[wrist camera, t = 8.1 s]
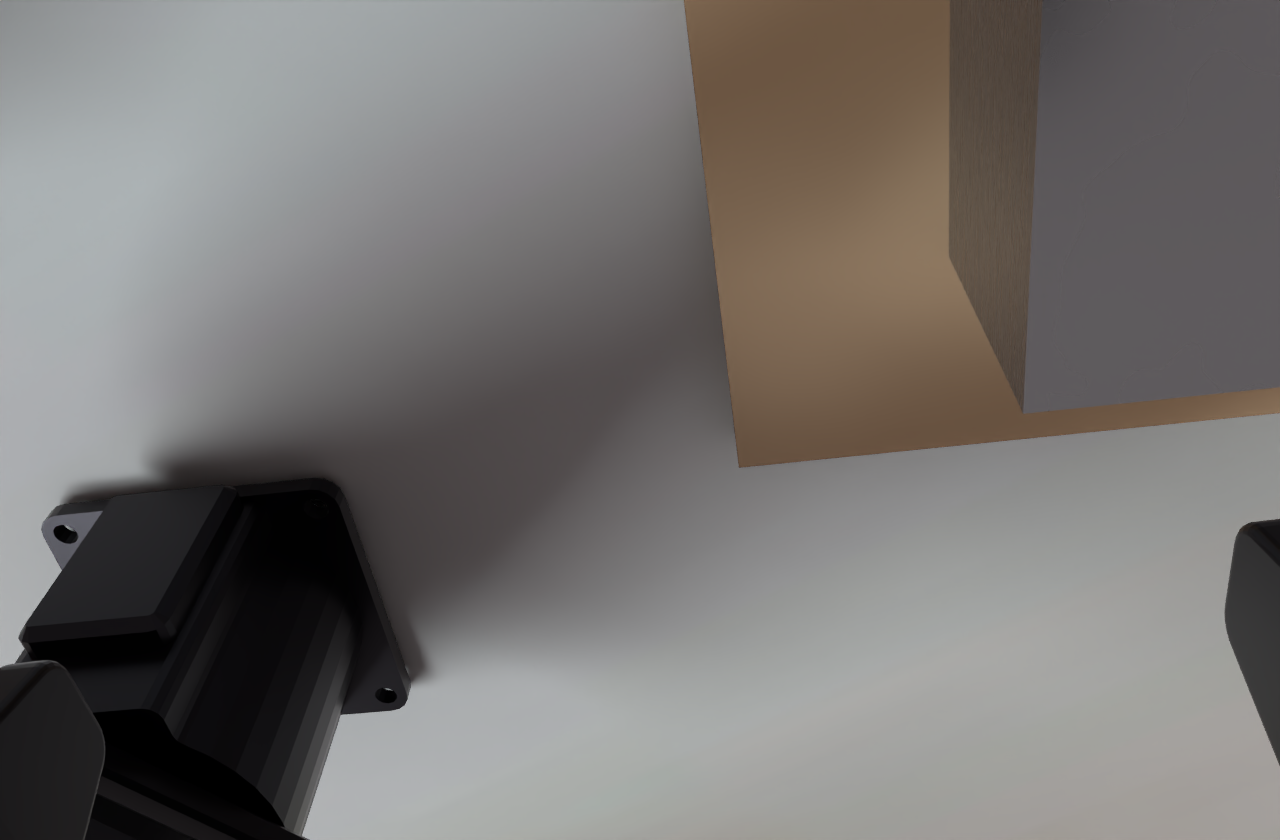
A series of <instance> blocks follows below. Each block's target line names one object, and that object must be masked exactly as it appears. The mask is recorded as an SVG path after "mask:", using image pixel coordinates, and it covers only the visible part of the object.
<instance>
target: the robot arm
mask: <svg viewBox="0 0 1280 840" xmlns="http://www.w3.org/2000/svg"><path fill="white" fill-rule="evenodd" d="M311 499H317V500H320V501H322V502H324V503H325V504H326V505H327V506H326V507H319V506H317V505H315V504H313V503H312V502H311ZM64 525H67V526H69V527H71V528H73V529H74V530H75V531H76V532H74V531H71V530H69V529H67V528H66V527H65V526H64ZM41 530H42V533H43V536H44V538H45V540H46V542H47V544H48V546H49V547H50V549H51V551H52V553H53V555H54V557H55V558H56V560H57V562H58V564H59V566H60V568H61V569H62V571H61V573H60V574H59V576H58V577H57V579H56V580H55V582H54V583H53V585H52V586H51V587H50V589H49V590H48V592H47V593H46V595H45V596H44V598H43V599H42V601H41V602H40V603H39V605H38V606H37V608H36V609H35V611H34V612H33V614H32V615H31V617H30V618H29V619H28V621H27V622H26V624H25V626H24V627H23V629H22V630H21V632H20V635H19V640H20V642H21V643H22V645H23V647H24V648H25V649H24V651H23V652H22V654H21V655H20V656H19V658H18V659H17V661H16V662H15V664H10V665H6V666H3V667H1V668H0V840H309V839H307V838H305V837H303V836H302V833H303V830H304V827H305V824H306V821H307V818H308V815H309V812H310V808H311V805H312V802H313V799H314V796H315V793H316V790H317V787H318V784H319V781H320V777H321V774H322V771H323V768H324V765H325V762H326V759H327V756H328V753H329V750H330V746H331V743H332V740H333V737H334V734H335V731H336V728H337V725H338V722H339V718H340V715H343V714H356V713H368V712H380V711H392V710H396V709H399V708H401V707H402V706H404V705H405V703H406V701H407V699H408V695H409V692H410V688H411V684H410V679H409V676H408V673H407V671H406V668H405V665H404V662H403V659H402V657H401V654H400V651H399V648H398V645H397V642H396V640H395V637H394V634H393V631H392V628H391V626H390V623H389V620H388V617H387V614H386V611H385V609H384V606H383V603H382V600H381V597H380V595H379V592H378V589H377V586H376V583H375V580H374V578H373V575H372V572H371V569H370V566H369V564H368V561H367V558H366V555H365V552H364V549H363V547H362V544H361V541H360V538H359V535H358V533H357V530H356V527H355V524H354V521H353V518H352V516H351V513H350V510H349V507H348V504H347V502H346V499H345V496H344V494H343V492H342V491H341V489H340V488H339V487H338V486H337V485H336V484H334V483H333V482H331V481H328V480H326V479H321V478H310V479H301V480H291V481H281V482H272V483H262V484H253V485H243V486H233V487H229V486H224V485H216V486H207V487H197V488H187V489H178V490H168V491H159V492H149V493H140V494H130V495H120V496H115V497H113V498H112V499H109V500H99V501H89V502H80V503H70V504H63V505H60V506H57V507H56V508H55V509H53V510H52V511H51V513H50V514H49V515H48V517H47V518H46V519H45V521H44V522H43V525H42V529H41ZM1225 624H1226V630H1227V634H1228V638H1229V641H1230V644H1231V646H1232V649H1233V651H1234V654H1235V656H1236V659H1237V661H1238V664H1239V666H1240V669H1241V671H1242V674H1243V676H1244V679H1245V681H1246V684H1247V686H1248V688H1249V691H1250V693H1251V696H1252V698H1253V701H1254V703H1255V706H1256V708H1257V711H1258V713H1259V716H1260V718H1261V721H1262V723H1263V726H1264V728H1265V731H1266V733H1267V736H1268V738H1269V741H1270V743H1271V746H1272V748H1273V751H1274V753H1275V756H1276V758H1277V761H1278V763H1279V765H1280V519H1276V520H1267V521H1258V522H1251V523H1248V524H1246V525H1244V526H1243V527H1242V528H1241V529H1240V530H1239V532H1238V534H1237V536H1236V540H1235V544H1234V550H1233V557H1232V563H1231V570H1230V577H1229V583H1228V590H1227V597H1226V603H1225ZM384 688H389V689H391V690H393V691H391V690H386V689H384Z"/></svg>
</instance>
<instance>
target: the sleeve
mask: <svg viewBox="0 0 1280 840" xmlns="http://www.w3.org/2000/svg"><path fill="white" fill-rule="evenodd" d="M949 258H950V260H951V262H952V264H953V267H954V269H955V271H956V273H957V275H958V277H959V279H960V281H961V283H962V286H963V288H964V290H965V292H966V294H967V296H968V298H969V300H970V302H971V305H972V307H973V309H974V311H975V313H976V315H977V317H978V319H979V322H980V324H981V326H982V328H983V330H984V332H985V334H986V336H987V338H988V341H989V343H990V345H991V347H992V349H993V351H994V353H995V355H996V357H997V360H998V362H999V364H1000V366H1001V368H1002V370H1003V372H1004V374H1005V376H1006V379H1007V381H1008V383H1009V385H1010V387H1011V389H1012V391H1013V393H1014V395H1015V398H1016V400H1017V402H1018V404H1019V406H1020V408H1021V410H1022V412H1023V414H1026V413H1036V412H1045V411H1055V410H1065V409H1074V408H1084V407H1094V406H1103V405H1113V404H1123V403H1133V402H1142V401H1152V400H1162V399H1171V398H1181V397H1191V396H1200V395H1210V394H1220V393H1229V392H1239V391H1249V390H1258V389H1268V388H1278V387H1280V0H950V78H949Z"/></svg>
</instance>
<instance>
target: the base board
mask: <svg viewBox="0 0 1280 840" xmlns="http://www.w3.org/2000/svg"><path fill="white" fill-rule="evenodd" d="M684 5H685V14H686V22H687V31H688V39H689V48H690V56H691V65H692V73H693V82H694V90H695V99H696V107H697V115H698V124H699V132H700V141H701V149H702V158H703V166H704V175H705V183H706V192H707V200H708V209H709V217H710V226H711V234H712V243H713V251H714V260H715V268H716V277H717V285H718V294H719V302H720V311H721V319H722V328H723V336H724V344H725V353H726V361H727V370H728V378H729V387H730V395H731V404H732V412H733V421H734V429H735V438H736V446H737V455H738V463H739V468H740V467H750V466H760V465H770V464H780V463H790V462H800V461H810V460H819V459H829V458H839V457H849V456H859V455H869V454H879V453H889V452H898V451H908V450H918V449H928V448H938V447H948V446H958V445H968V444H978V443H987V442H997V441H1007V440H1017V439H1027V438H1037V437H1047V436H1057V435H1066V434H1076V433H1086V432H1096V431H1106V430H1116V429H1126V428H1136V427H1145V426H1155V425H1165V424H1175V423H1185V422H1195V421H1205V420H1215V419H1225V418H1234V417H1244V416H1254V415H1264V414H1274V413H1280V387H1278V388H1268V389H1258V390H1249V391H1239V392H1229V393H1220V394H1210V395H1200V396H1191V397H1181V398H1171V399H1162V400H1152V401H1142V402H1133V403H1123V404H1113V405H1103V406H1094V407H1084V408H1074V409H1065V410H1055V411H1045V412H1036V413H1026V414H1023V412H1022V410H1021V408H1020V406H1019V404H1018V402H1017V400H1016V398H1015V395H1014V393H1013V391H1012V389H1011V387H1010V385H1009V383H1008V381H1007V379H1006V376H1005V374H1004V372H1003V370H1002V368H1001V366H1000V364H999V362H998V360H997V357H996V355H995V353H994V351H993V349H992V347H991V345H990V343H989V341H988V338H987V336H986V334H985V332H984V330H983V328H982V326H981V324H980V322H979V319H978V317H977V315H976V313H975V311H974V309H973V307H972V305H971V302H970V300H969V298H968V296H967V294H966V292H965V290H964V288H963V286H962V283H961V281H960V279H959V277H958V275H957V273H956V271H955V269H954V267H953V264H952V262H951V260H950V258H949V78H950V0H684Z"/></svg>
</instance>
